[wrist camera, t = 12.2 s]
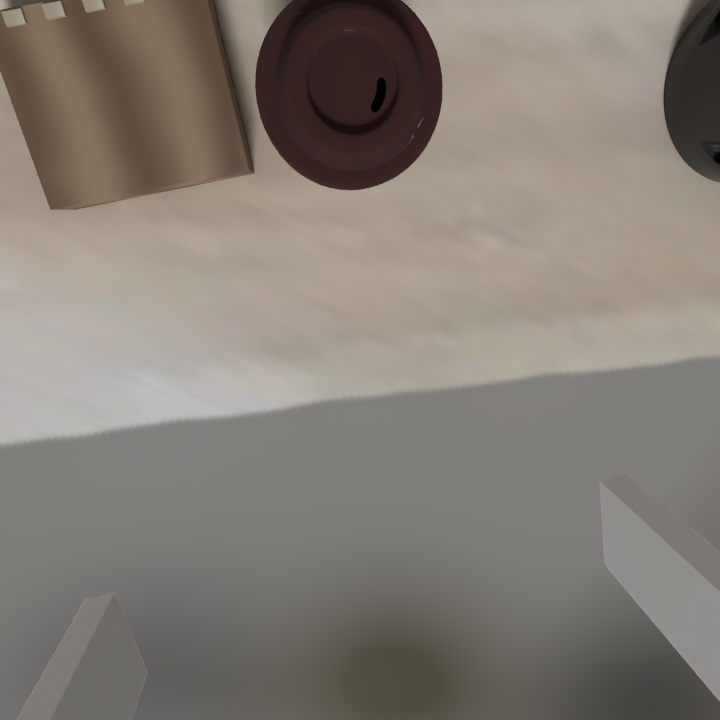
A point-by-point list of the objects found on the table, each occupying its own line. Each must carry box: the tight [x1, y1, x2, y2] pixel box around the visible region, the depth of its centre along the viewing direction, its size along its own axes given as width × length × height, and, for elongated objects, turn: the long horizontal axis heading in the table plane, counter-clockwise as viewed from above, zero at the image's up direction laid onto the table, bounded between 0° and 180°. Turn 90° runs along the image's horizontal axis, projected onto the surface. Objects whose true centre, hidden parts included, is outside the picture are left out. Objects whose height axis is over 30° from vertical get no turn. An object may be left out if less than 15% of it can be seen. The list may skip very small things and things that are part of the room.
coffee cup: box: [255, 0, 442, 190], centre depth 33 cm, size 10×10×15 cm
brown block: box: [0, 0, 254, 209], centre depth 36 cm, size 14×12×4 cm
